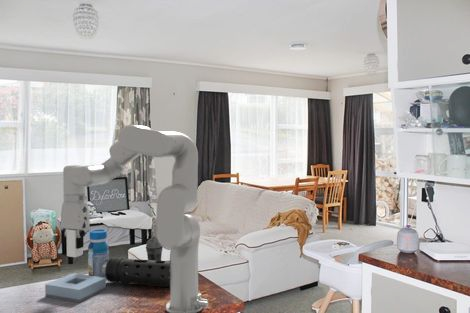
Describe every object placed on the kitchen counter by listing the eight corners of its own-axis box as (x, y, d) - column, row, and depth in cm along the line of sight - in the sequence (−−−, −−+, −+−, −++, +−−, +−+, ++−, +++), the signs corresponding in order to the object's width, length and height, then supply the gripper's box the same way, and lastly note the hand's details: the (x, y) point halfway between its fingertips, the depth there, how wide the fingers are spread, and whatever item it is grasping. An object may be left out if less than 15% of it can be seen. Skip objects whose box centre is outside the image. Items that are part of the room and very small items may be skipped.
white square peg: (83, 254, 155) (82, 225, 155) (75, 257, 152) (74, 227, 151) (74, 253, 157) (74, 224, 157) (66, 256, 153) (66, 226, 153)
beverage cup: (142, 275, 174) (142, 228, 174) (151, 270, 181) (150, 225, 181) (158, 277, 172) (157, 229, 172) (166, 271, 179) (165, 226, 179)
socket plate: (106, 289, 158) (105, 277, 158) (79, 302, 145) (79, 289, 145) (73, 284, 164) (73, 273, 164) (45, 296, 151) (45, 284, 151)
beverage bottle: (102, 283, 165) (101, 233, 165) (83, 281, 168) (82, 232, 167) (113, 276, 174) (112, 229, 173) (95, 274, 176) (95, 228, 175)
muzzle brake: (168, 291, 156) (168, 264, 155) (100, 287, 161) (100, 260, 161) (177, 283, 165) (176, 257, 165) (112, 279, 171) (112, 254, 170)
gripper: (99, 198, 154) (99, 247, 155) (64, 196, 160) (65, 242, 161) (84, 201, 147) (85, 252, 148) (49, 198, 153) (50, 247, 154)
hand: (74, 246), depth 154 cm, fingers closed on white square peg, 4 cm apart
